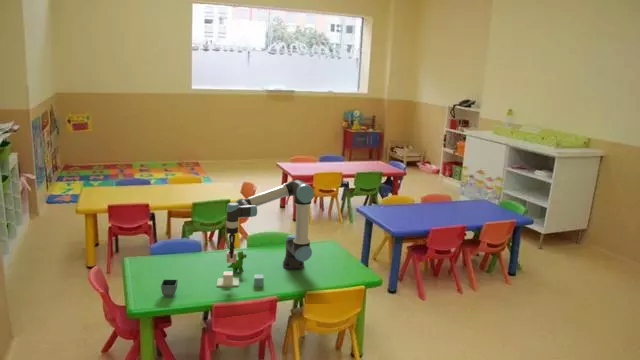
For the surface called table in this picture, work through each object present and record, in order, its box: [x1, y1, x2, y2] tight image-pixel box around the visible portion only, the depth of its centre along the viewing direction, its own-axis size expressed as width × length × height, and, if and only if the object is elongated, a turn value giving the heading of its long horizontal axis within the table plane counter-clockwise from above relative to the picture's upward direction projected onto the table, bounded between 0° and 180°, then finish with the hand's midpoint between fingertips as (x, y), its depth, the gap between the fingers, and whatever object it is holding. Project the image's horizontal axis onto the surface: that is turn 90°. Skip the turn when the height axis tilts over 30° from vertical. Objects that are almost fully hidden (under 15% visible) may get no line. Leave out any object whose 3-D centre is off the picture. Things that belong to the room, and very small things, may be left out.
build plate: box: [216, 270, 240, 288], centre depth 352 cm, size 14×11×7 cm
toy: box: [227, 250, 248, 274], centre depth 369 cm, size 6×14×15 cm, turn 78°
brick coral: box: [226, 250, 238, 264], centre depth 349 cm, size 6×6×6 cm
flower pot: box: [160, 278, 179, 298], centre depth 331 cm, size 9×9×9 cm
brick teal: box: [253, 273, 265, 288], centre depth 351 cm, size 6×6×6 cm
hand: (231, 260), depth 349 cm, fingers closed on brick coral, 6 cm apart
